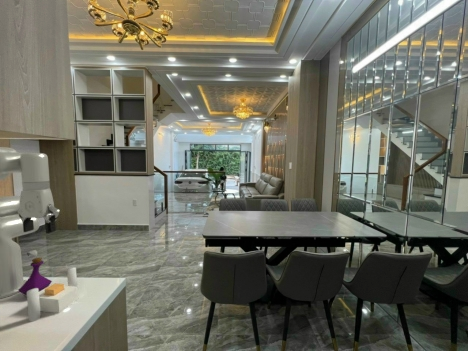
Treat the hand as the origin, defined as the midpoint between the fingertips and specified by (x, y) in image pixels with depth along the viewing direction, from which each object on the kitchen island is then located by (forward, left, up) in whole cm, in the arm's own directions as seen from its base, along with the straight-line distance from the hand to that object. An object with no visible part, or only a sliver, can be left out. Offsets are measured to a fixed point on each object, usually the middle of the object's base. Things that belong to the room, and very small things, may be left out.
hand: (39, 231), depth 82 cm
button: (+5, 0, -25) cm, 25 cm away
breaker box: (+5, 0, -28) cm, 28 cm away
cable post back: (+5, +7, -28) cm, 29 cm away
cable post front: (+5, -8, -28) cm, 29 cm away
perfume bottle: (-10, +5, -28) cm, 30 cm away
